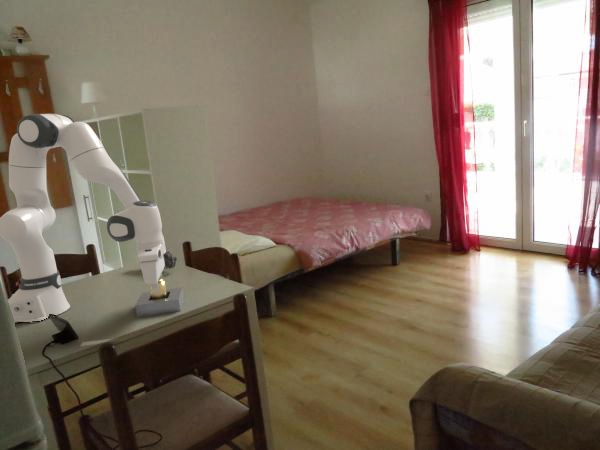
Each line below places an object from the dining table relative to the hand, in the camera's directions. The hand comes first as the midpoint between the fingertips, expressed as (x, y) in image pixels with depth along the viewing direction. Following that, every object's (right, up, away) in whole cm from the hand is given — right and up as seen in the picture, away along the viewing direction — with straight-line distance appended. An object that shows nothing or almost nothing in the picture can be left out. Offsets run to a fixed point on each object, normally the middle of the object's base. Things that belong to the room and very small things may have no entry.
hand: (158, 288), depth 160 cm
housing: (+1, -7, +2) cm, 8 cm away
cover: (+1, -5, +1) cm, 6 cm away
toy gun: (-14, +1, +49) cm, 51 cm away
